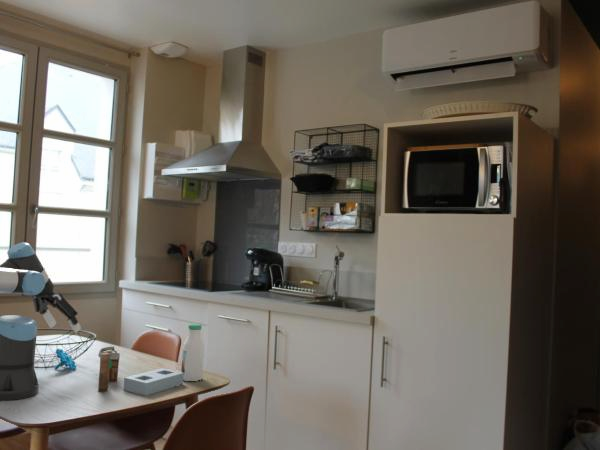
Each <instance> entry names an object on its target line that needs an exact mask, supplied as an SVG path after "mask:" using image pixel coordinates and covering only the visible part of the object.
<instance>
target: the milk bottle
mask: <svg viewBox="0 0 600 450" xmlns="http://www.w3.org/2000/svg"><path fill="white" fill-rule="evenodd" d="M201 331H202V324H201V323H189V324H188V334H187V337H186V339H185V341H184V343H183V348H182V357H181V371H180V372H182V373H184V376H183V380H184V381H183V382H188V381H196V382H199V381H198V380H200V381H202V380H201V379H203V375H204V358H205V345H204V340H203V338H202V333H201Z"/></svg>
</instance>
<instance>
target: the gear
mask: <svg viewBox="0 0 600 450" xmlns="http://www.w3.org/2000/svg"><path fill="white" fill-rule="evenodd" d="M54 353H55V354H56V358H58V359H59V361H60V362H59V363H58V364H57V365H56V366H55V367H54V370H58V369H59V368H61V367H66V368H68V369H69V370H70V371H72V370H73V371H75V370H76V369H77V367H78V366H77V365H76V362H75V361H74V360H73V355H69V353H67V351H64V350H63V349H60V348H56V350H55V352H54Z"/></svg>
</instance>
